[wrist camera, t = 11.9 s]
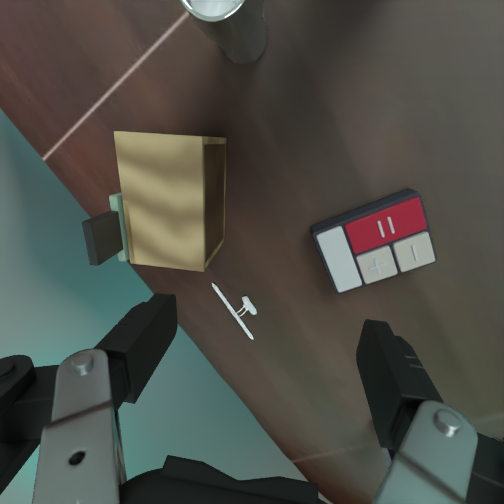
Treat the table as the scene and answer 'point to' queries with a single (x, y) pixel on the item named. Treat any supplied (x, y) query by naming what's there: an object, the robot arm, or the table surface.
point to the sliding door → (107, 233)
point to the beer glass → (232, 26)
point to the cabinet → (172, 197)
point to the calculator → (375, 241)
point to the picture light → (247, 306)
